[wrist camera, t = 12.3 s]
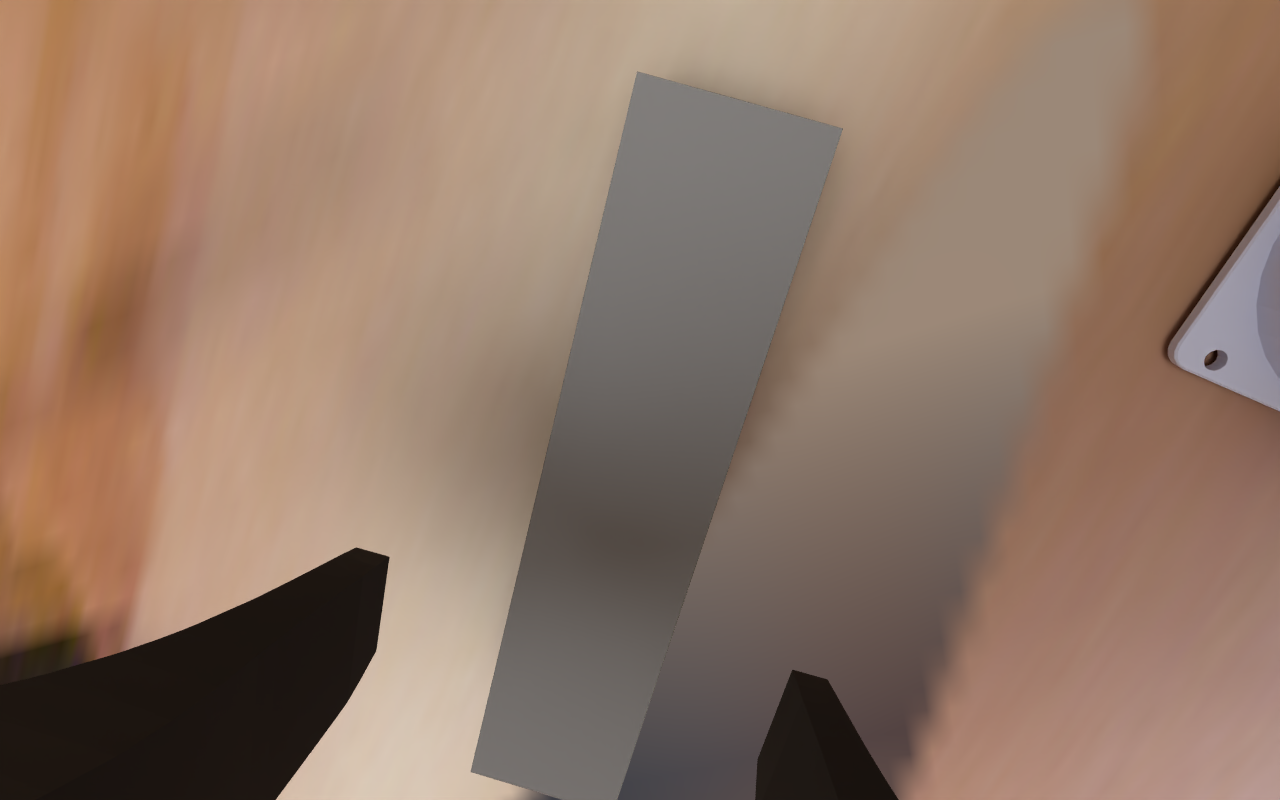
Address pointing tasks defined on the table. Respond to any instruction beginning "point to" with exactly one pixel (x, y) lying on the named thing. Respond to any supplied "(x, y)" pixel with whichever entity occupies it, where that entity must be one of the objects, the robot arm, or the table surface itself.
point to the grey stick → (646, 424)
